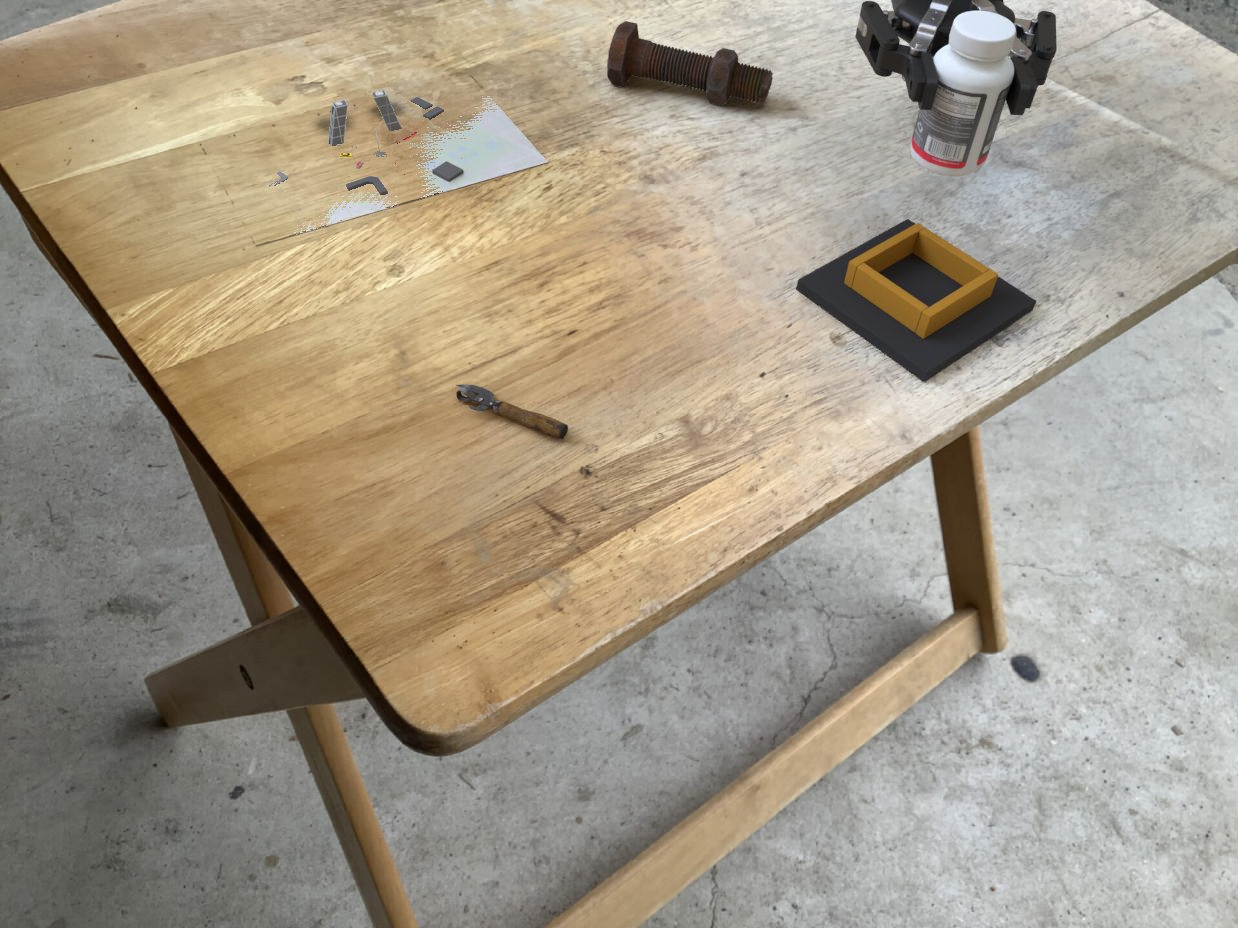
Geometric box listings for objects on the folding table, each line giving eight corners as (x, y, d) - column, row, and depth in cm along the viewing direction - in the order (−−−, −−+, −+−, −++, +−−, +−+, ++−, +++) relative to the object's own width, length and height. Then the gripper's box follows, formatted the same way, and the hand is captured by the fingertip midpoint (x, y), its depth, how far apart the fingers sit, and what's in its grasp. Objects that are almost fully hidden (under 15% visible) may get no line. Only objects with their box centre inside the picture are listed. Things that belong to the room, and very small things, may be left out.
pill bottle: (953, 129, 80) (991, -2, 72) (1000, 168, 76) (1046, 36, 69) (892, 146, 78) (926, 14, 70) (939, 187, 75) (978, 54, 67)
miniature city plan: (255, 246, 86) (244, 207, 83) (198, 143, 95) (187, 104, 93) (548, 162, 95) (547, 124, 92) (471, 75, 104) (468, 38, 101)
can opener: (569, 433, 74) (569, 421, 73) (550, 454, 73) (550, 443, 72) (463, 381, 77) (462, 369, 76) (443, 401, 76) (441, 389, 75)
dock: (1033, 310, 84) (1046, 278, 82) (924, 382, 79) (935, 350, 76) (904, 228, 91) (914, 196, 88) (795, 289, 85) (802, 256, 83)
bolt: (760, 128, 103) (610, 92, 105) (775, 81, 104) (625, 47, 106) (762, 95, 98) (603, 58, 100) (778, 46, 98) (620, 10, 101)
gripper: (854, -78, 79) (877, 40, 68) (1052, -67, 79) (1108, 53, 68) (835, 21, 85) (854, 144, 74) (1020, 31, 85) (1066, 156, 74)
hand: (975, 100), depth 71 cm, fingers closed on pill bottle, 5 cm apart
